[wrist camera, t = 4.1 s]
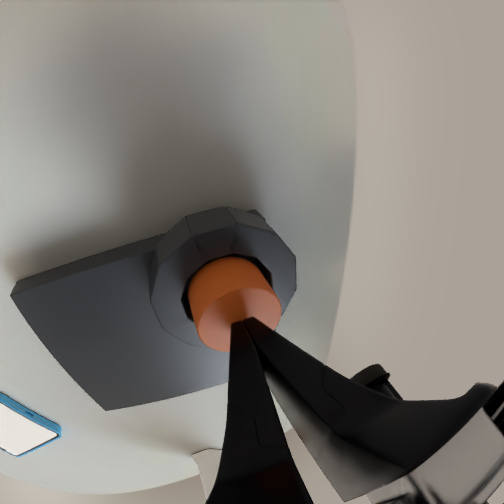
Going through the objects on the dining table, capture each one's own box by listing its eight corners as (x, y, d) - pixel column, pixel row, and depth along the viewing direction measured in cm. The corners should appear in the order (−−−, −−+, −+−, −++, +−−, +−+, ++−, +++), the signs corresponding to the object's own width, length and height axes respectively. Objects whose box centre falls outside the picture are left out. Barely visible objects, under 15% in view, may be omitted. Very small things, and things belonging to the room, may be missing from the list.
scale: (264, 185, 13) (294, 208, 10) (279, 349, 19) (296, 381, 17) (7, 264, 10) (-15, 301, 7) (105, 397, 16) (106, 432, 14)
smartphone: (64, 435, 16) (17, 457, 16) (64, 424, 17) (17, 450, 17) (-6, 396, 11) (-32, 430, 11) (-4, 385, 12) (-31, 422, 12)
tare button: (258, 246, 11) (279, 275, 9) (265, 305, 13) (283, 336, 11) (178, 269, 10) (186, 304, 9) (198, 326, 12) (208, 361, 10)
